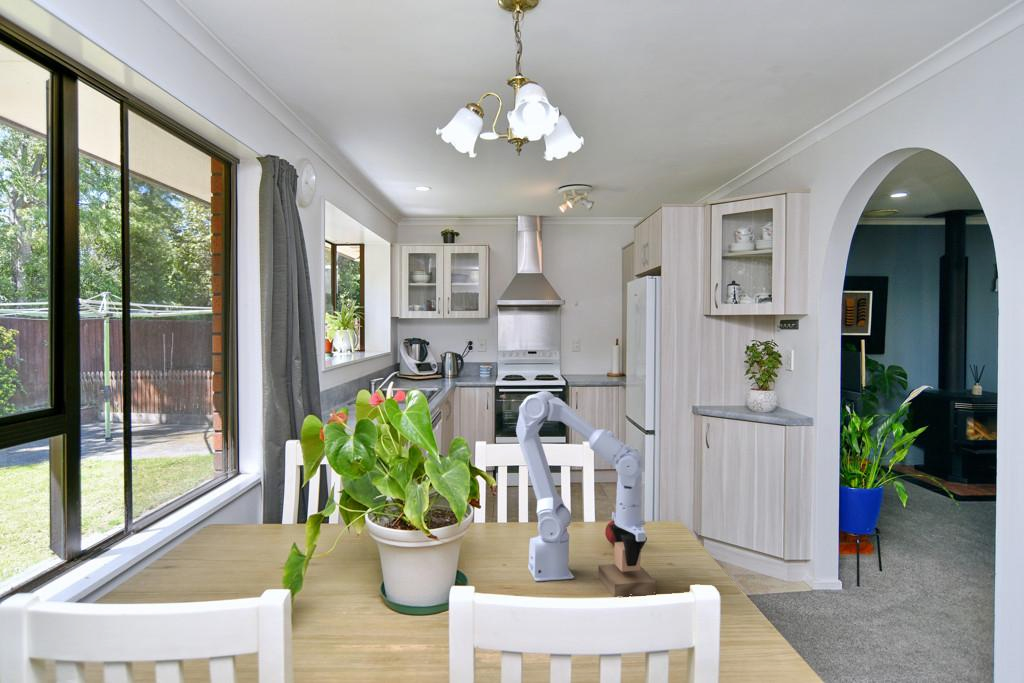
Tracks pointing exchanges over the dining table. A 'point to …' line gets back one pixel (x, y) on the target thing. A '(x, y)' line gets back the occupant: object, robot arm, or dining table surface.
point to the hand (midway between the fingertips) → (626, 560)
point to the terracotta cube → (624, 558)
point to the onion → (610, 533)
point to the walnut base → (626, 581)
